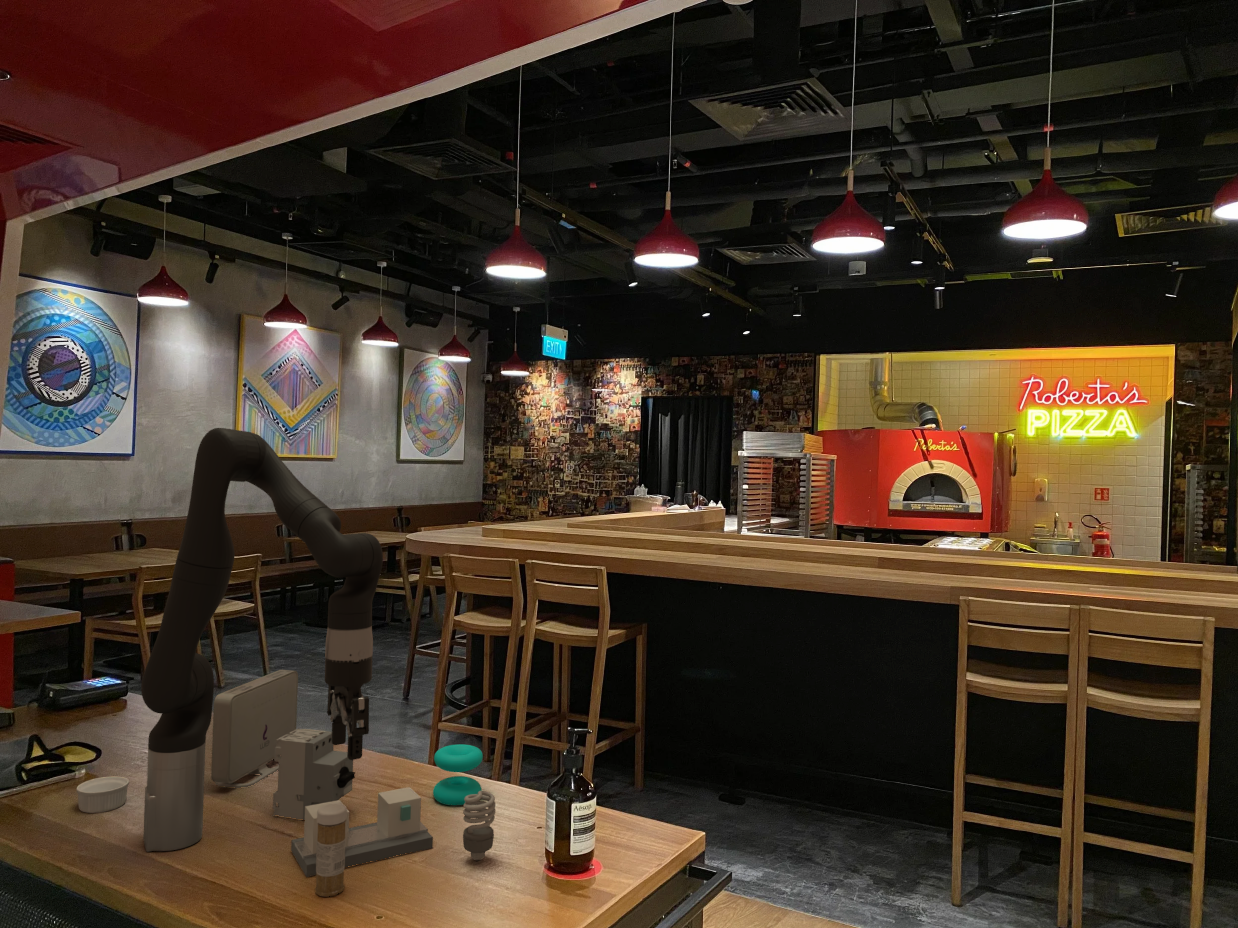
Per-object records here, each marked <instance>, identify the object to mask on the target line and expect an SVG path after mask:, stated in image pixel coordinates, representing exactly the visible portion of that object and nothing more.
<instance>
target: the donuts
mask: <svg viewBox="0 0 1238 928" xmlns="http://www.w3.org/2000/svg"><path fill="white" fill-rule="evenodd" d="M483 755H484V754H483V752H482V750H481V749H480V748H479V747H477V746H474V745H472V744H471V745H470V744H462V743H461V744H459V743H458V744H449V745H446V746H443V747H441V748H439V749H438V750H437V751H436V752H435V753H434V756H433V760H434V763H435V765H436V767H438V768H439V769H440V770H442V771H445V772H451V773H463V772H468V771H471V770H474V769H476V768H477V767H479V766H480V764H481V763H482V761H483V758H484V756H483ZM482 788H483V787H482V785H481V784H480V782H479V781H477V780H476V779H474V778H472V777H469V776H465V775H464V776H463V775H456V776H455V775H454V776H449V777H446V778H443V779H441V780H440V781H438V782H437V783H436V784H435V785H434V787H433V790H432V795H433V798H434V799H435V800H436V801H437V802H438V803H439V804H442V805H447V806H464V803H465V800H464V799H465V797H466V796H467V795H472V794H478V792H479V791H483V789H482Z"/></svg>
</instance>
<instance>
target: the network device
mask: <svg viewBox="0 0 1238 928" xmlns="http://www.w3.org/2000/svg"><path fill="white" fill-rule="evenodd" d="M298 687H299V673H298V672H297V670H290V669H289V670H288V669H278V670H276V671H274V672H271V673H268V674H266V675H264V676H261V677H258V678H257V679H253V680H251V681H249V682H246V683H243V684H241V685H238V686H236V687H233V688H231V689H228V690H226V691H223V692H221V693H218V694H217V695H216V696H215V698H214V699H213V710H212V714H213V715H212V716H213V718H212V742H211V744H212V745H211V771H210V774H211V776H210V779H211V781H212V782H214V783H215V784H216V785H218V786H217V787H219V786H225V787H224V788H226V787H235V788H241V787H248V786H251V785H254V784H255V783H257V782H259V781H260V780H262V779H264V778H265V777H267V776H268V775H270V774H272V775H274V774H275V773H274V772H276V771H277V770H278V767H279V764H278V765H276V766H275V767H271V768H270V767H268V765H267V764H268V763H270V762H271V761H274V760H273V759H275V747H276V746H277V742H276V740H277V739H278V738H280V737H282V736H284V735H286V734H287V735H289V733H290V732H292V731H294V730H296V729H297V722H298V721H297V719H298V717H297V716H298V715H297V714H298V693H299V692H298V691H299V690H298V689H299V688H298ZM280 756H281V755H280V754H278V757H280ZM277 772H278V771H277ZM277 772H276V773H277ZM273 773H274V774H273ZM251 774H260V775H261V776H260V775H258V777H256V778H255V779H252V780H251V781H249V782H246V783H237V782H236V781H238V780H239V779H241V778H243V777H245V776H247V775H251ZM267 778H268V777H267ZM264 780H265V779H264ZM262 781H263V780H262ZM259 783H260V782H259ZM215 784H214V785H215ZM257 784H258V783H257ZM216 785H215V786H216ZM254 786H255V785H254ZM251 787H252V786H251ZM235 788H234V789H235ZM248 788H249V787H248ZM241 789H242V788H241Z"/></svg>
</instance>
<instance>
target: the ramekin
mask: <svg viewBox="0 0 1238 928" xmlns="http://www.w3.org/2000/svg"><path fill="white" fill-rule="evenodd" d="M129 784H130V779H129V778H127V777H126V776H125V777H123V776H117V775H115V776H104V777H103V776H102V777H96V778H93V779H89V780H86V781H84V782H82V783H80V784H78V786H77V787H76V793H77V800H78V801H77V802H78V809H79V811H81V812H83V813H88V814H97V813H98V814H99V813H104V812H109V811H113V810H115V809H118V808H120V807H122V806H123V805H124V804H125V803H126V801H127V795H128V787H129Z"/></svg>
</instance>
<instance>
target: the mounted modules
mask: <svg viewBox="0 0 1238 928" xmlns="http://www.w3.org/2000/svg"><path fill="white" fill-rule="evenodd" d="M332 803H339V804H343V802H342V801H341V799H339V800H337V801H332V802H326V803H321V804H316V805H310V806H305V821H304V826H303V837H304V842H305V843H306V845H307V846H308V848H309V849H310V851H311V853H312V854H316V852H317V837H318V822H317V811H318V809H319V808H320V807H321V806H323V805H326V804H332ZM343 805H344V804H343ZM421 810H422V797H421V796H420V794H418V793H417V792H415V790H414V789H412V788H411V787H410V786H408V787H402V788H397V789H391V790H387V791H386V790H385V791H381V792H378V794H377V815H376V817H377V819H376V822H377V826H378V827H379V828H380V829H381V831H382V832H383V833H384V834H385V835H386V836H387V838H389V837H394V836H398V835H403V834H408V833H412V832H417V831H420V822H421V817H422V816H421V812H422V811H421ZM349 828H350V811H349V809H347V818H346V822H345V847H348V837H349Z"/></svg>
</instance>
